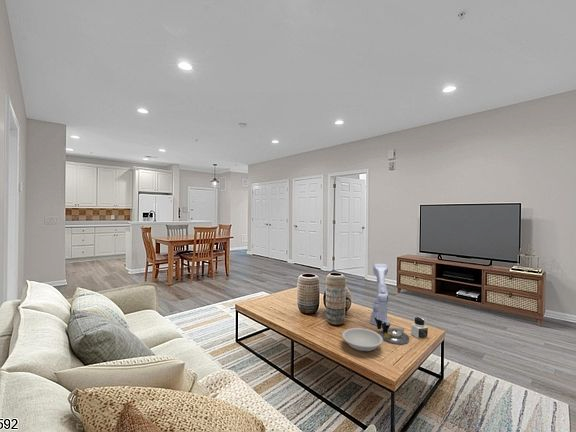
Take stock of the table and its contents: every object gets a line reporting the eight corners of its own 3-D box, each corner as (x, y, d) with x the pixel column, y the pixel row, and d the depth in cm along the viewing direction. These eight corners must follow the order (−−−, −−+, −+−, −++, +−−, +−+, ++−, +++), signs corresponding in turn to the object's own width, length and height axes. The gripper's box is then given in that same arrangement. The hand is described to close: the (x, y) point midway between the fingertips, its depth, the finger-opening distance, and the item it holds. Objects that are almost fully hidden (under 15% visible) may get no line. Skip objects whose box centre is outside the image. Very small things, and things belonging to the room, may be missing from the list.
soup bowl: (352, 334, 185) (352, 324, 185) (388, 346, 170) (388, 335, 170) (334, 348, 167) (334, 337, 166) (373, 363, 151) (373, 351, 151)
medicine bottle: (418, 339, 179) (419, 321, 178) (410, 334, 186) (411, 316, 185) (427, 338, 181) (428, 320, 180) (419, 333, 188) (420, 315, 187)
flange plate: (373, 335, 183) (374, 333, 183) (390, 329, 193) (390, 326, 193) (398, 347, 168) (398, 344, 168) (414, 339, 178) (414, 337, 178)
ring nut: (381, 336, 178) (381, 331, 178) (393, 329, 189) (393, 324, 189) (394, 341, 172) (395, 336, 172) (406, 333, 183) (406, 329, 183)
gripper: (371, 307, 189) (371, 326, 190) (382, 315, 175) (382, 336, 175) (381, 306, 190) (380, 326, 191) (392, 315, 176) (392, 336, 177)
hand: (382, 331), depth 183 cm, fingers open, 7 cm apart
